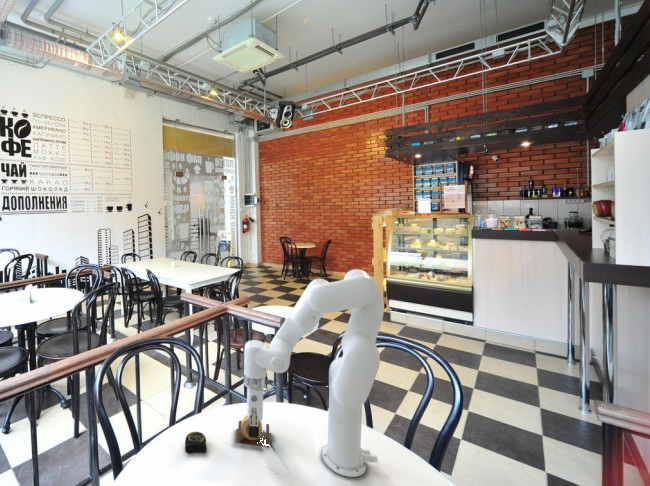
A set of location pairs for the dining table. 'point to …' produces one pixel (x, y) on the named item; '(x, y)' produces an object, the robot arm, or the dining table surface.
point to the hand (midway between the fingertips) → (253, 433)
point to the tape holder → (243, 440)
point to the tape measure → (195, 443)
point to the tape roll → (245, 428)
